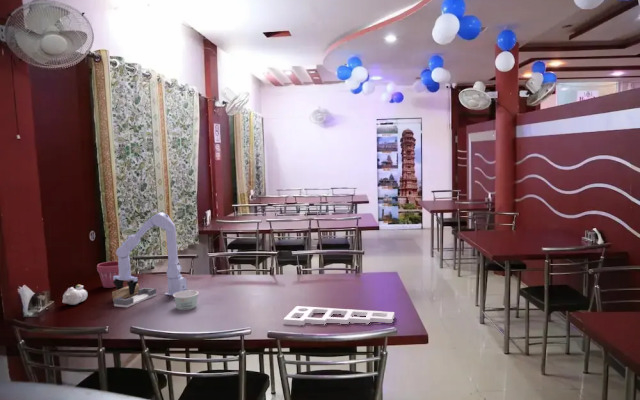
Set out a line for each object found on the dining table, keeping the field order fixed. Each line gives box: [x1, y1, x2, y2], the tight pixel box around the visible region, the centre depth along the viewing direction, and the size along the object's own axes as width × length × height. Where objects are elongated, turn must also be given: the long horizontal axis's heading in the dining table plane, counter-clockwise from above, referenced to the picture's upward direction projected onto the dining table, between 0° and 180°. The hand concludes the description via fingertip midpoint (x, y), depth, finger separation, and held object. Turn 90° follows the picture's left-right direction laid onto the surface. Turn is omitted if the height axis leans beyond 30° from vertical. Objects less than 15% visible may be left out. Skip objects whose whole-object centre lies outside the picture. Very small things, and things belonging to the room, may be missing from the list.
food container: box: [172, 289, 200, 311], centre depth 227 cm, size 12×12×6 cm
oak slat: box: [111, 283, 140, 302], centre depth 247 cm, size 3×16×5 cm, turn 160°
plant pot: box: [96, 260, 119, 289], centre depth 270 cm, size 14×14×13 cm
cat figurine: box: [61, 284, 88, 306], centre depth 238 cm, size 10×8×15 cm
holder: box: [283, 305, 395, 326], centre depth 203 cm, size 45×18×3 cm, turn 74°
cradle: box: [113, 287, 157, 308], centre depth 240 cm, size 8×21×4 cm, turn 159°
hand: (126, 293), depth 248 cm, fingers open, 7 cm apart
